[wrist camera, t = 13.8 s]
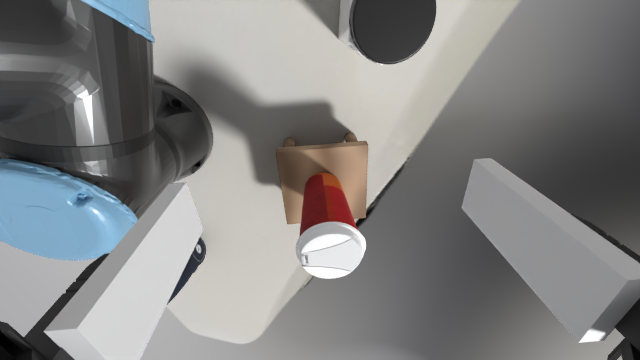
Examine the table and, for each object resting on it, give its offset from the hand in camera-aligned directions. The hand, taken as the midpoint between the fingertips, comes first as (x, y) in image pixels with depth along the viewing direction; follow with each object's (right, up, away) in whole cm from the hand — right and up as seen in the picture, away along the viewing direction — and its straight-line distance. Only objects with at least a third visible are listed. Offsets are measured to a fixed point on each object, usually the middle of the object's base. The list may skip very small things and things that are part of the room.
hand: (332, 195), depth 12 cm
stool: (0, +3, +34) cm, 34 cm away
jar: (+6, +22, +23) cm, 33 cm away
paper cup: (0, 0, +28) cm, 28 cm away
